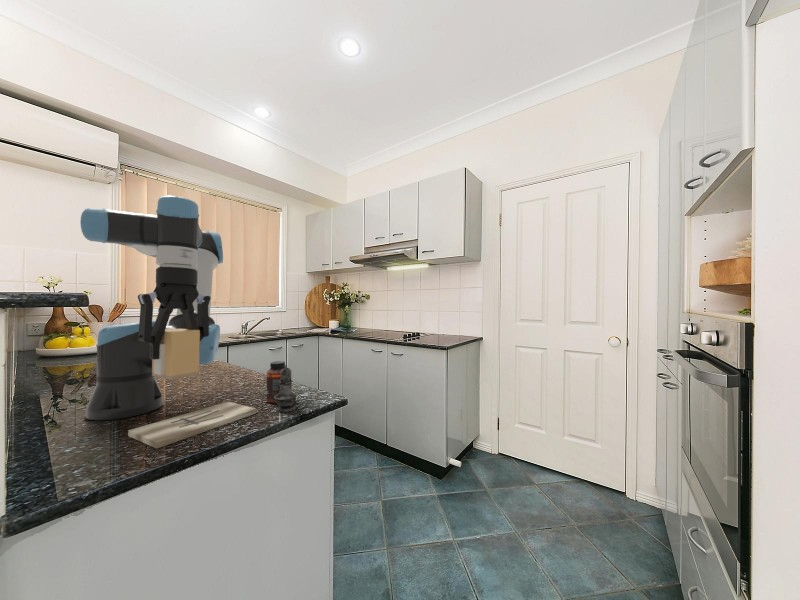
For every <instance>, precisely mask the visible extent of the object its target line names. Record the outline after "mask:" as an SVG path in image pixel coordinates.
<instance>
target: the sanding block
mask: <svg viewBox="0 0 800 600" xmlns="http://www.w3.org/2000/svg"><path fill="white" fill-rule="evenodd" d="M161 343H162V344H165V374H164V375H158V374H154V359H152V376H155V378H161V379H166V380H169V381H173V380H179V379H184V378H188V377H193V376H195V377H196V376H198V375H200V365H199V346H200V330H191V329H167V330H165V331H164V334H163V337H162V340H161Z"/></svg>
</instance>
